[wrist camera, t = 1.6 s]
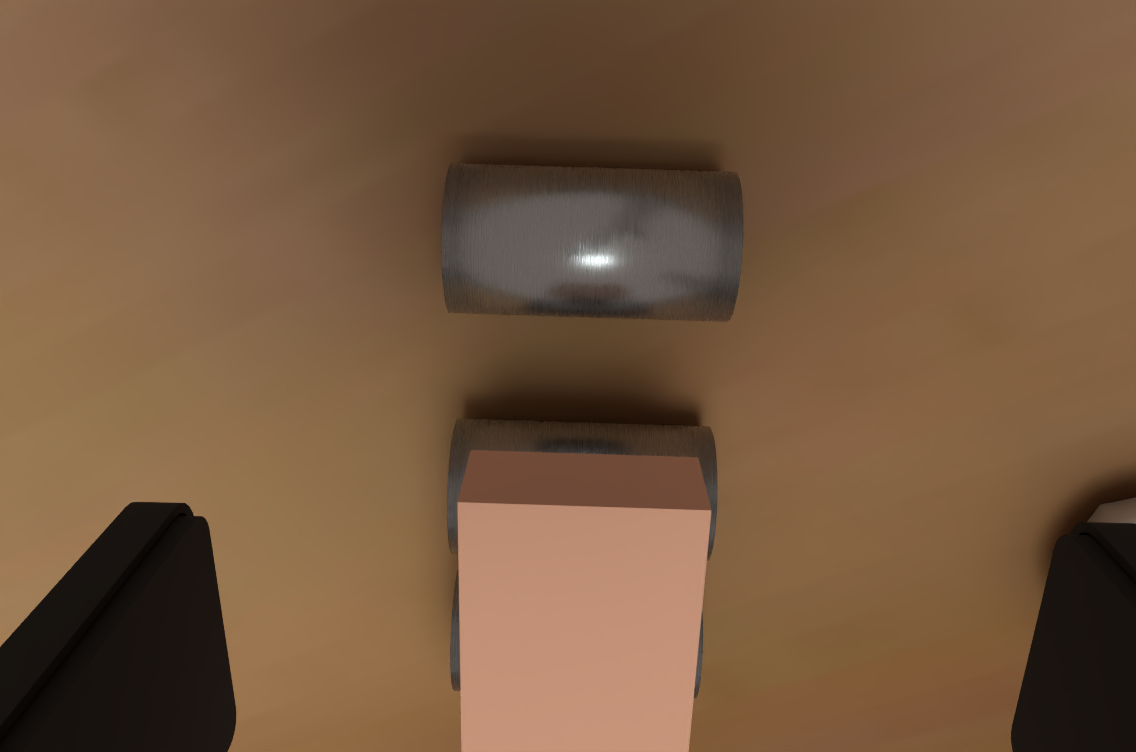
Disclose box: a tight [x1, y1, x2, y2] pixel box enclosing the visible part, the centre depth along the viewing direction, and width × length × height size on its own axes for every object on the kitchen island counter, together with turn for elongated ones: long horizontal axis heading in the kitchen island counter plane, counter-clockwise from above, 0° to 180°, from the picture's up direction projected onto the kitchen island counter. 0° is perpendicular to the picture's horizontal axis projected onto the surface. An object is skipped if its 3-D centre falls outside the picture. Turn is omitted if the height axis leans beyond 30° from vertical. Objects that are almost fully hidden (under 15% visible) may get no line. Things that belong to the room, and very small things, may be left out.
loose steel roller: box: [442, 163, 743, 322], centre depth 26 cm, size 4×8×4 cm, turn 88°
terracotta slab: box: [458, 450, 711, 752], centre depth 26 cm, size 10×6×3 cm, turn 178°
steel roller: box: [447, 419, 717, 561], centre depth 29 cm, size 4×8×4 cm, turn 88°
